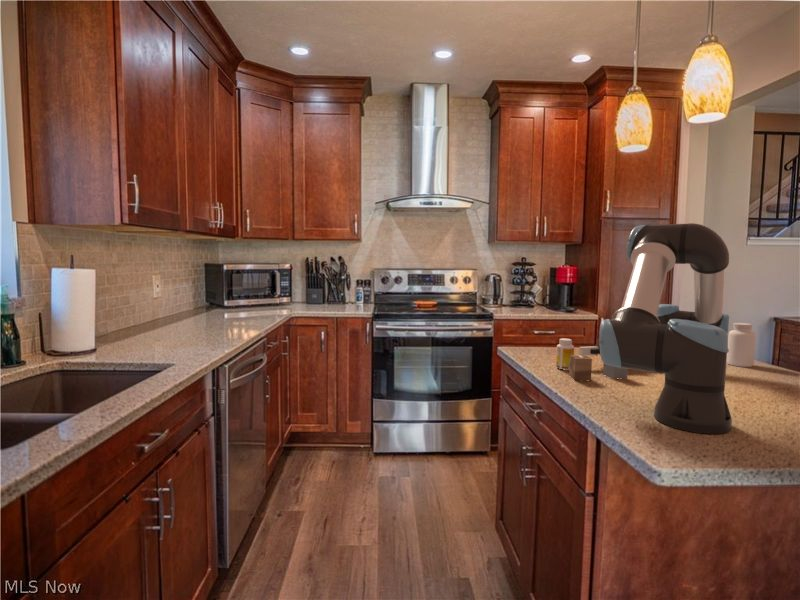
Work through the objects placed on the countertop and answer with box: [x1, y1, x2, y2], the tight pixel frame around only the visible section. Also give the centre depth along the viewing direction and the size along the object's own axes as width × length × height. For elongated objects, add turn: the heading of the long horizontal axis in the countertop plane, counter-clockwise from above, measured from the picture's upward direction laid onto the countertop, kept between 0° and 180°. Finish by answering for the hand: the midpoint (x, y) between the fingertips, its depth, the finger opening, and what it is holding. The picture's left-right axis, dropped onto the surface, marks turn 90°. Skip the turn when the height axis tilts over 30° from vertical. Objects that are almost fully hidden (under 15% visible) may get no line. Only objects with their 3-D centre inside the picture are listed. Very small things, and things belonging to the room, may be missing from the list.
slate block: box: [602, 363, 629, 380], centre depth 146 cm, size 5×5×7 cm
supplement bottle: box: [555, 337, 575, 371], centre depth 156 cm, size 6×6×10 cm
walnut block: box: [568, 354, 593, 381], centre depth 143 cm, size 5×5×7 cm
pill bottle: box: [726, 322, 757, 368], centre depth 165 cm, size 8×8×15 cm
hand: (580, 351), depth 157 cm, fingers closed
